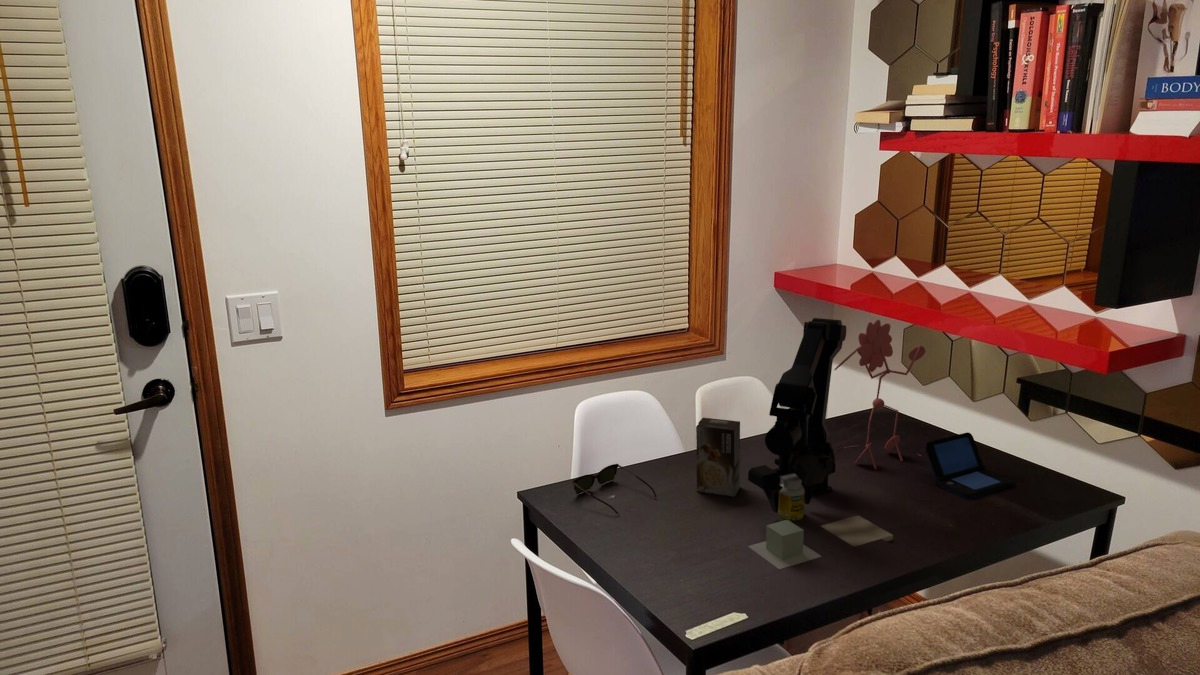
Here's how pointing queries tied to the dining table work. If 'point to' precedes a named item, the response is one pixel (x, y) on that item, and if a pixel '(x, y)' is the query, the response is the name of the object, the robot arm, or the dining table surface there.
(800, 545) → the sage block
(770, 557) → the grey pad
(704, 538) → the dining table surface
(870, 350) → the figurine
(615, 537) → the dining table surface
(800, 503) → the supplement bottle
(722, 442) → the coffee box
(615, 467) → the sunglasses
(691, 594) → the dining table surface
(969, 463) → the handheld game console
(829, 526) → the birch pad
